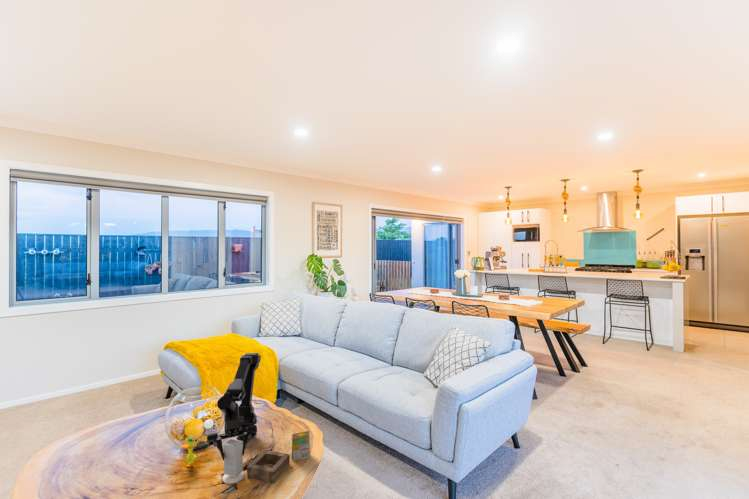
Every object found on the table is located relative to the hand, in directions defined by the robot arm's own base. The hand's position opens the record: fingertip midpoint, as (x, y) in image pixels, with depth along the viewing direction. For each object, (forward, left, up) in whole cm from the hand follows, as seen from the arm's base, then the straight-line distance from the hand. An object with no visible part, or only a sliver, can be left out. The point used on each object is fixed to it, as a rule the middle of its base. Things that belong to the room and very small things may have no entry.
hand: (233, 457), depth 142 cm
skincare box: (-1, +1, -7) cm, 7 cm away
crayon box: (+19, +20, -9) cm, 29 cm away
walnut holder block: (+11, +8, -8) cm, 16 cm away
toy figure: (-23, +2, -9) cm, 25 cm away
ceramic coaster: (-1, +1, -8) cm, 8 cm away
